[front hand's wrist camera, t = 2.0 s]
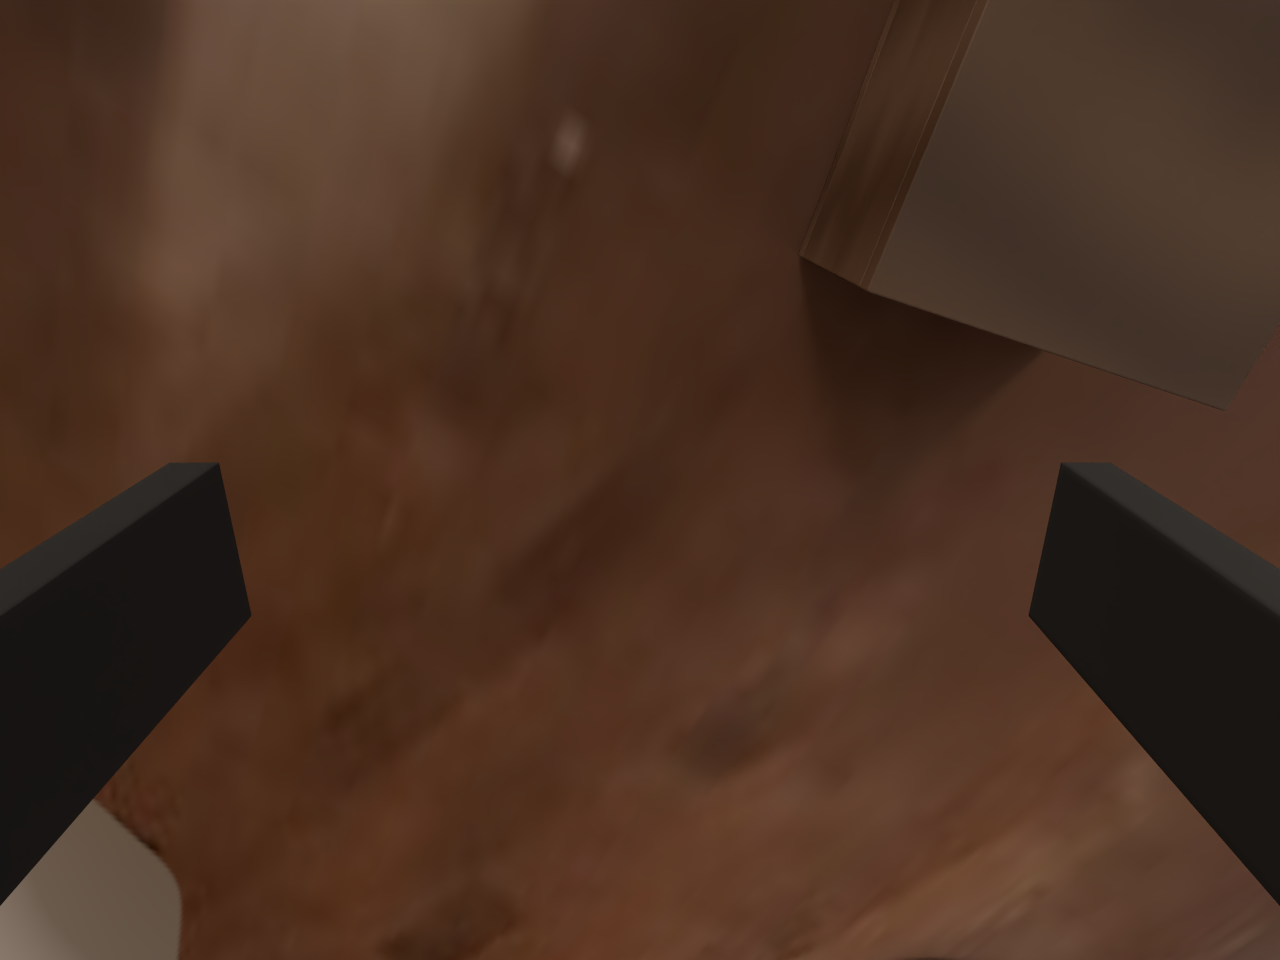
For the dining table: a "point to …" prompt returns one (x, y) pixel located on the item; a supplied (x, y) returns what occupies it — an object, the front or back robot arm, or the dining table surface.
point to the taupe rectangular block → (1072, 180)
